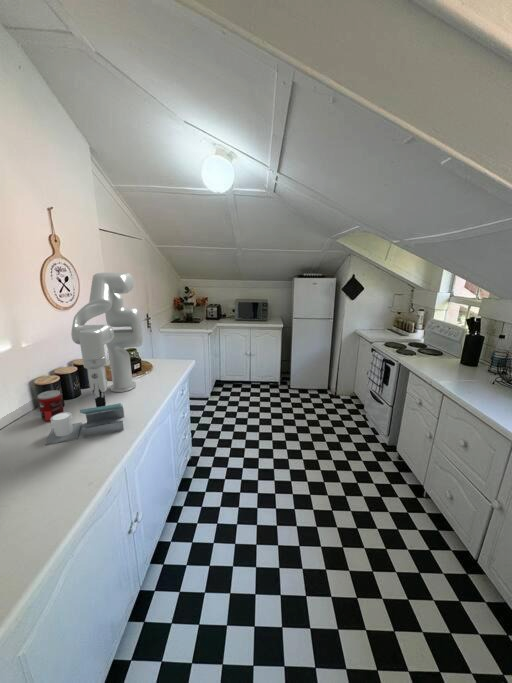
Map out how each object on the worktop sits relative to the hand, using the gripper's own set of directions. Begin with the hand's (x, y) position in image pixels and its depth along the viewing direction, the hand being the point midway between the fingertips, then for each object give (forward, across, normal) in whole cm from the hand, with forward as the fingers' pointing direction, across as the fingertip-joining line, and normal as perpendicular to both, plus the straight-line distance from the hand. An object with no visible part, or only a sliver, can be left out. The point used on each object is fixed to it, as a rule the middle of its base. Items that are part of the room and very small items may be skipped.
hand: (101, 405), depth 112 cm
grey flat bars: (+10, +2, 0) cm, 11 cm away
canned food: (+10, +18, +21) cm, 30 cm away
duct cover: (+3, +3, 0) cm, 4 cm away
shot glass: (+10, +2, +14) cm, 18 cm away
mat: (+10, +2, +14) cm, 17 cm away
